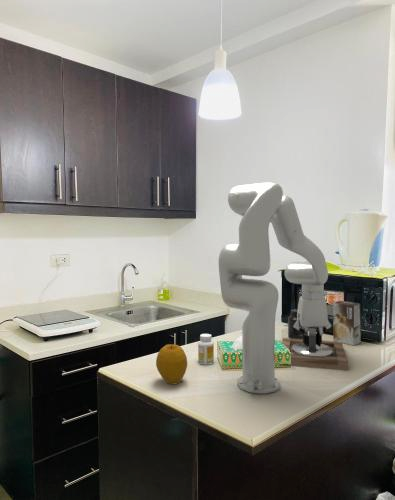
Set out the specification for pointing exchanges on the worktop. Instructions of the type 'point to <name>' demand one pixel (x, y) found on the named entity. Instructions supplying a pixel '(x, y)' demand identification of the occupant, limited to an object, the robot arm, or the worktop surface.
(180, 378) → the apple
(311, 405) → the worktop surface
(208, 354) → the supplement bottle
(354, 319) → the coffee box
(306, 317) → the robot arm
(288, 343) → the dial housing
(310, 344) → the dial
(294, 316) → the supplement bottle
